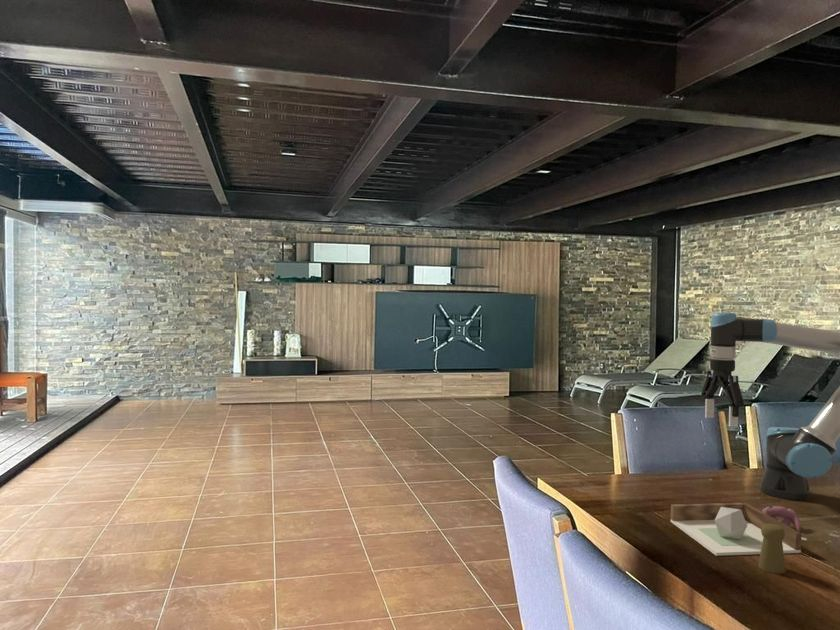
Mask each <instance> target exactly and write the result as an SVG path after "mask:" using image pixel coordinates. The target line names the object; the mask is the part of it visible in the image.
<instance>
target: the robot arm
mask: <svg viewBox="0 0 840 630" xmlns="http://www.w3.org/2000/svg"><path fill="white" fill-rule="evenodd" d="M737 342H750V343H751V342H752V343H755V342H756V343H766V344H772V345H778V346H786V347H791V348H797V349H804V350H809V351H816V352H821V353H828V354H833V355H834V357H835V358H840V329H839V330H837V331H833V330H826V329H821V328H814V327H807V326H800V325H795V324H788V323H781V322H776V321H775V320H774V319H770V318H769V319H768V318H749V317H743V316H738V317H737V314H736V313H734V312H714V313H712V315H711V320H710V349H709V351H710V353H709V354H710V358H711V359H710V360H709V369H710V370H707V371H706V377H705V381H704V385H703V386H702V390H701V393H700V394H701V396H702V397H704V399H705V400H704V402H705V404H704V406H705V408H704V418H705V419H713V418H715V394H716V392H717V391H718V389H719V387H721V388H722V389H723V390H724V392H725V395H726V397H727V399H728V401H729V406H728V408H729V409H728V427H739V415H740V414H739V413H740V412H739V411H740V407H741V406H745V405H744V404H745V403H744V402H745V401H744V399H743V395H742V391H741V387H740V384H739V376H738V375H732V372H734V371H735V370H736V360H735V358H736V352H737V351H736V349H737V347H736V346H737V345H736V343H737ZM839 438H840V385H839V387H837V388H836V389H835V391H834V393H833V394H832V395H831V396H830V398H829V399H828V400H827V402H826V403H825V404H824V405H823V407H822V408H821V409H820V411H819V412H818V413H817V414H816V416H815V417H814V418H813V419H812V421H811V422H810V423H809V425H807V426H801V427H798V428H797V427H788V426H787V427H784V426H771V427H768V428H767V431H766V454H765V455H766V456H765V457H766V461H765V462H766V465H765V471H764V473H763V475H762V478H761V481H760V483H759V490H760V491H761V492H762V493H764V494H766V495H768V496H771V497H776V498H780V499H786V500H796V501H797V500H798V501H799V500H801V501H802V500H807V499H809V498H811V489H810V485H809V483H808V479H817V478H821V477H823V476H825V475H826V474H828V473H829V471H830V470H831V467H832V465H833V461H832V459H833V458H832V456H833V455H834V453H835V452H836V451H837V447H836V442H837V440H838V439H839Z"/></svg>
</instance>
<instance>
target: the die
mask: <svg viewBox="0 0 840 630" xmlns="http://www.w3.org/2000/svg"><path fill="white" fill-rule="evenodd" d="M715 524H716V527H717V529H718V532H719V535H720V537H725V538H731V539H737V540H741V538H742V536H743V534H744V532H745V530H746V528H747V523H746V521H745V518H744V516H743V513H742V511H741V510H739V509H733V508H726V507H721V508H720V510H719V512H718V514H717V516H716V518H715Z"/></svg>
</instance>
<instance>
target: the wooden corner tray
mask: <svg viewBox="0 0 840 630" xmlns="http://www.w3.org/2000/svg"><path fill="white" fill-rule="evenodd" d="M721 507H726V508H733V509H739V510H741V511H742V513H743V516H744V518H745V521H746V523H747V528H746V530H745V532H744V534H743V536H742V538H741V540H737V539H731V538H725V537H720V535H719V532H718V529H717V527H716V524H715V518H716V516H717V514H718V512H719V510H720V508H721ZM670 523H672V524H673V525H674V526H676V527H677V528H678V529H679V530H681V531H683V532H684V533H685V534H686V535H687V536H689V537H690V538H692V539H693V540H695V541H696V542H697V543H699V544H700V545H701V546H703V547H704V548H705V549H707V550H708V551H709V552H710V553H712V554H714V556H716V557H717V556H743V555H745V556H747V555H748V556H750V555H752V556H753V555H760V553H761V548H762V542H763V535H762V533H761V528H762V526H763V525H764V524H775V525H778V526H780V527H782V528H783V529H784V532H785V537H784V539H783V540H782V544H783V552H784V554H799V553H802V533H801V532H800V531H799V532H798V531H797V530H796V529H794V528H792V527H791V526H787V525H785V524H783V523H782V522H781V521H780V520H779V519H778V520H776V519H774V518H772V517H771V516H769V515H767V514H765V513H763V512H762V510H760V509H757V508H756V507H754V506H752V505H751V504H750V503H749V504H748V503H747V502H721V503H719V502H717V503H714V502H713V503H712V502H711V503H682V504H680V503H679V504H677V503H676V504H675V503H674V504H670Z"/></svg>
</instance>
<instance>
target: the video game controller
mask: <svg viewBox="0 0 840 630" xmlns="http://www.w3.org/2000/svg"><path fill="white" fill-rule="evenodd" d="M761 511H762V512H763V513H765V514H767V515H769V516H771V517H772V518H774V519H776V520H778V521H779V519H778V518H779V517H780V518H782V519H781V521H780V522H782V523H783V524H785V525H787V526H789V527H791V526H790V525H791V524H792V525H793V526H794V528H795V529H794V530H796V531H798V532H800V531H801V529H802V527H801V522H800V519H799V516H798V514H797V513H796V511H795V510H793V509H791V508H788V507H785V506H778V505H772V506H766V507H764V508H762V510H761Z"/></svg>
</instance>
